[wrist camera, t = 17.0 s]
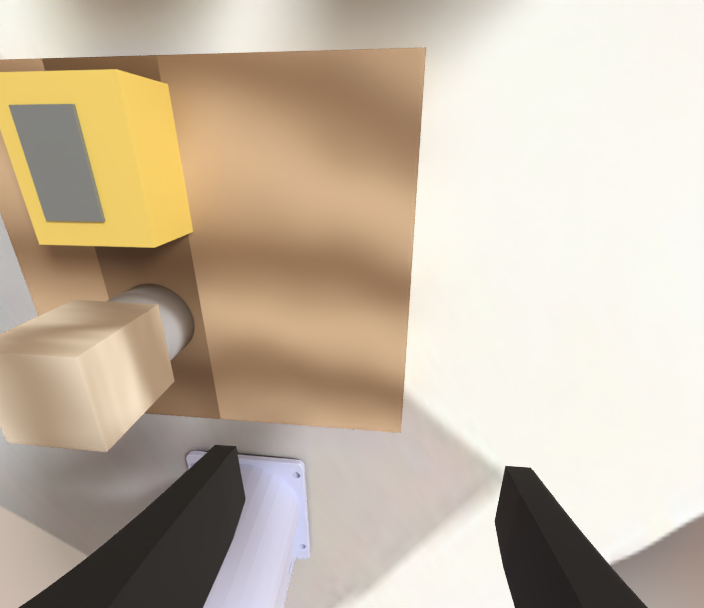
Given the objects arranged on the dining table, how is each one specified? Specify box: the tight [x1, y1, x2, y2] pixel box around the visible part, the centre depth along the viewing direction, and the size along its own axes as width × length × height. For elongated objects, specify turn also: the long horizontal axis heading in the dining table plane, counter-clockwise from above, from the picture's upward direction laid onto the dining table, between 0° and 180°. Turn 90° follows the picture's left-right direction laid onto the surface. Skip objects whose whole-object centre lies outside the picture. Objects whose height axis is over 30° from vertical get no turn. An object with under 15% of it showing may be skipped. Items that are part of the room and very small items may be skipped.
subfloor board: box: [0, 48, 426, 433], centre depth 19 cm, size 18×20×2 cm
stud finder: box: [0, 69, 193, 248], centre depth 15 cm, size 6×5×3 cm
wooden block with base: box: [0, 283, 195, 452], centre depth 16 cm, size 4×4×7 cm
